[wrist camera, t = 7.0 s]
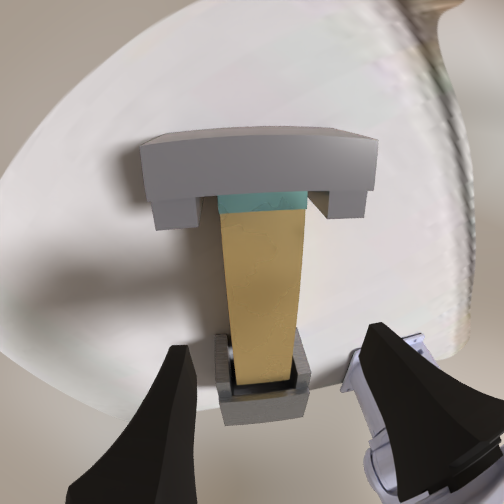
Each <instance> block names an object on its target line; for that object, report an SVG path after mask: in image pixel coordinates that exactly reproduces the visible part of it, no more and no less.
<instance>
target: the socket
mask: <svg viewBox="0 0 504 504" xmlns="http://www.w3.org/2000/svg"><path fill="white" fill-rule="evenodd" d="M139 148H140V156H141V164H142V172H143V179H144V186H145V193H146V199H147V202H151V206H152V212H153V218H154V223H155V229H156V231H158V230H169V229H181V228H193V227H198V226H199V221H200V215H201V209H202V204H203V199H204V196H217V195H232V194H248V193H268V192H294V191H308V195H307V197H308V198H309V199H310V200H311V201H312V202H313V204H314V205H315V206H316V207H317V208H318V209H319V210H320V211H321V213H322V214H323V215H324V216H325V217H326V218H327V219H344V218H364V213H365V206H366V198H367V191H374V184H375V174H376V164H377V152H378V140H377V139H373V138H370V137H366V136H362V135H359V134H355V133H351V132H347V131H343V130H338V129H334V128H322V127H295V126H260V127H232V128H216V129H204V130H193V131H183V132H175V133H167V134H164V135H162V136H159V137H157V138H155V139H153V140H151V141H149V142H147V143H145V144H142V145H140V146H139Z"/></svg>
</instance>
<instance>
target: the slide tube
mask: <svg viewBox="0 0 504 504" xmlns="http://www.w3.org/2000/svg"><path fill="white" fill-rule="evenodd" d="M307 195H308V191H294V192H268V193H248V194H232V195H217V197H218V211H219V214H220V222H221V235H222V247H223V258H224V269H225V280H226V290H227V301H228V310H229V320H230V329H231V338H232V347H233V356H234V364H235V373H236V381H237V385H245V384H256V383H266V382H274V381H282V380H289V379H290V371H291V364H292V356H293V348H294V339H295V331H296V322H297V312H298V302H299V291H300V280H301V268H302V256H303V242H304V226H305V209H307Z"/></svg>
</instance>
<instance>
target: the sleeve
mask: <svg viewBox="0 0 504 504" xmlns="http://www.w3.org/2000/svg"><path fill="white" fill-rule="evenodd" d="M310 376H311V370H310V367H309V364H308V360H307V357H306V354H305V351H304V348H303V345H302V342H301V338H300V335H299V332H298V329H297V327H296V331H295V339H294V348H293V356H292V364H291V371H290V379H289V380H282V381H274V382H266V383H256V384H245V385H237V381H236V377H232V371H231V364H230V356H229V349H228V341H227V334H219V335H215V379H216V387H217V391H218V395H219V405H220V409H221V413H222V416H223V420H224V424H225V426H229V425H244V424H254V423H264V422H273V421H280V420H286V419H293V418H299V417H303V415H304V411H305V408H306V404H307V401H308V397H309V394H310V392H309V388H308V385H309V380H310Z"/></svg>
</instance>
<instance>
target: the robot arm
mask: <svg viewBox="0 0 504 504" xmlns="http://www.w3.org/2000/svg"><path fill="white" fill-rule="evenodd" d="M424 338H425V336H424V334H419V335H416V336H412V337H409V338H405V339H402V338H400V337H399V336H398V335H397V334H396V333H395V332H393V331H392V330H391V329H390V328H389V327H387V326H386V325H385V324H384V323H382V322H379V323H374V324H369V327H368V330H367V333H366V336H365V339H364V342H363V344H362V347H361V349H359V350H357V351H355V352H354V354H353V357H352V360H351V363H350V365H349V368H348V371H347V373H346V376H345V379H344V381H343V384H342V386H341V389H340V391H341V392H342V393H344V392H348V391H353V390H354V392H355V394H356V396H357V399H358V402H359V404H360V407H361V409H362V412H363V414H364V417H365V420H366V422H367V425H368V427H369V430H370V433H371V435H372V438H373V439H372V440H369V444H370V447H371V448H369V449H367V451H366V454H365V456H364V461H363V463H364V470H365V474H366V477H367V479H368V482H369V483H370V485H371V487H372V488H373V489H374V491H375V492H376V493H377V494H378V495H379V497H380V499H381V501H382V503H383V504H503V503H504V444H503V445H502V446H501V447H499V445H498V444H499V443H501V439H500V435H502V434H503V433H504V400H501V399H498V398H494V397H492V396H489V395H486V394H483V393H481V392H479V391H477V390H475V389H473V388H471V387H469V386H467V385H465V384H463V383H461V382H459V381H458V380H456V379H454V378H453V377H451V376H450V375H448V374H446V373H445V372H443V371H442V370H441V369H440V367H439V366H438V364H437V363H436V361H435V359H434V358H433V356H432V355H431V353H430V352H429V350H428V349H427V347H426V346H425V344H424V343H423V340H424ZM196 407H197V376H196V373H195V369H194V366H193V363H192V359H191V356H190V352H189V348H188V345H172V346H171V347H170V348H169V350H168V353H167V355H166V357H165V360H164V362H163V364H162V366H161V368H160V370H159V372H158V375H157V377H156V378H155V380H154V382H153V384H152V386H151V388H150V390H149V392H148V394H147V395H146V397H145V399H144V400H143V402H142V404H141V405H140V407H139V409H138V410H137V412H136V414H135V415H134V417H133V418H132V420H131V421H130V422H129V424H128V425H127V427H126V428H125V429H124V431H123V432H122V433H121V435H120V436H119V437H118V438H117V440H116V441H115V442H114V443H113V445H112V446H111V447H110V448H109V449H108V451H107V452H106V453H105V454H104V455H103V456H102V457H101V458H100V459H99V460H98V461H97V462H96V463H95V464H94V465H93V466H92V467H91V468H90V469H89V470H88V471H87V472H85V473H84V474H83V475H82V476H81V477H80V478H78V479H77V480H76V481H75V482H73V483H72V484H71V485H70V486H69V487H68V491H67V495H66V502H65V504H197V497H196V487H195V476H194V459H193V445H194V432H195V419H196Z"/></svg>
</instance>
